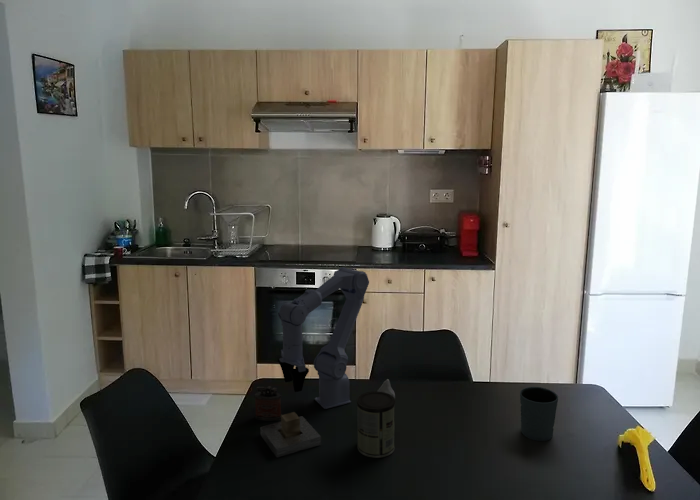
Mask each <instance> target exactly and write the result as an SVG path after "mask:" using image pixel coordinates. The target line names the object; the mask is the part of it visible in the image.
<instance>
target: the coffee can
mask: <svg viewBox="0 0 700 500" xmlns="http://www.w3.org/2000/svg"><path fill="white" fill-rule="evenodd" d="M377 391H378V390H377ZM377 391H368V392H365V393H361V394H359V396H357V398H356V409H357V412H356V413H357V416H356V417H357V421H356V422H357V451H358V452H359V453H360V454H362V455H363V456H365V457H367V458H371V459H372V458H373V459H376V458H377V459H380V458H386V457H388V456H390V455H391V454H393V452H394V451H395V449H396V448H395V447H396V446H395V418H396V417H395V412H396V409H395V405H396V397H395V398H394V397H393V396H392V395H390V394H388V393H384V392H377Z"/></svg>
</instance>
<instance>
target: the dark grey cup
mask: <svg viewBox="0 0 700 500" xmlns="http://www.w3.org/2000/svg"><path fill="white" fill-rule="evenodd" d="M519 401H520V403H519V404H520V430H521V433H522V434H523V436H524V437H526V438H528V439H529V440H533V441H536V442H537V441H538V442H545V441H546V442H547V441H549V440H551V439H552V438H553V434H554V427H555V420H556V415H557V408H558V401H559V396H558V394H557V393H556V392H554V391H553V390H551V389H549V388H546V387H541V386H540V387H539V386H528V387H524V388H522V389H521V390H520V391H519Z"/></svg>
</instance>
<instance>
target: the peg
mask: <svg viewBox="0 0 700 500" xmlns="http://www.w3.org/2000/svg"><path fill="white" fill-rule="evenodd" d="M299 417H300V416H298V414H297V413H296V412H295V411H293V412H288V413H285V414H281V419H280V422H281V430H282V436H283V437H284V439H285V438H289V437H293V436H296V435H300V418H299Z"/></svg>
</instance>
